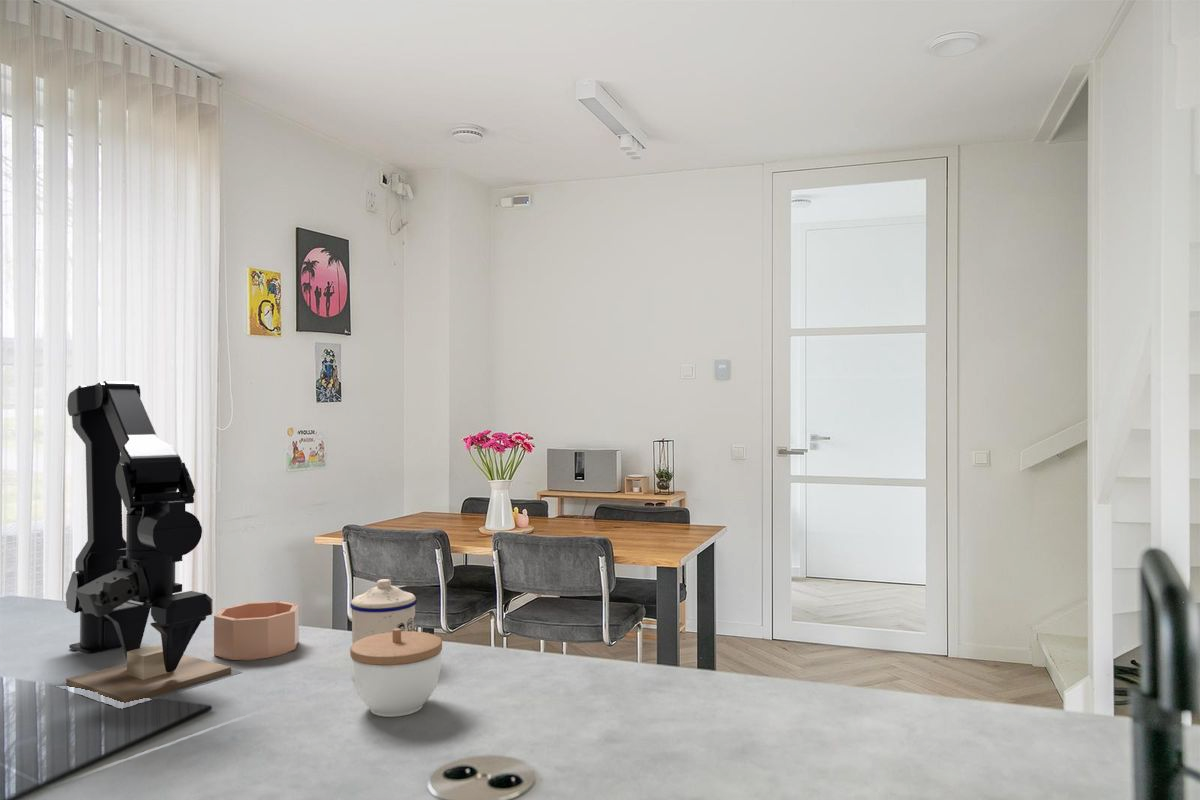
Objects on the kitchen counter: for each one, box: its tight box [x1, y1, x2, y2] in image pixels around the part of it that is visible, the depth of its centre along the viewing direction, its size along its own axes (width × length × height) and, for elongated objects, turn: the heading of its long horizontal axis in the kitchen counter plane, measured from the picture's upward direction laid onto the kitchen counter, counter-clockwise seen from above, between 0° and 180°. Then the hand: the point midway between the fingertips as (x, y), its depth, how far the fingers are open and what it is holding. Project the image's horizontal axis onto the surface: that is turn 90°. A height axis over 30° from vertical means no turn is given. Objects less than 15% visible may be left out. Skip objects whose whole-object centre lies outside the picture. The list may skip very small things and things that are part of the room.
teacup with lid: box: [350, 578, 418, 645], centre depth 116 cm, size 12×9×12 cm
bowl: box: [213, 600, 300, 661], centre depth 121 cm, size 11×11×6 cm
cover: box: [65, 643, 232, 703], centre depth 107 cm, size 14×14×4 cm
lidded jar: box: [349, 628, 443, 718], centre depth 97 cm, size 11×11×9 cm
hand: (150, 665), depth 107 cm, fingers open, 9 cm apart
